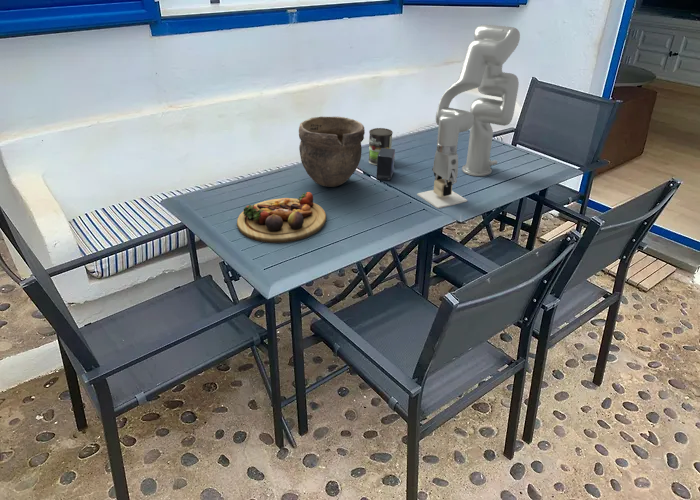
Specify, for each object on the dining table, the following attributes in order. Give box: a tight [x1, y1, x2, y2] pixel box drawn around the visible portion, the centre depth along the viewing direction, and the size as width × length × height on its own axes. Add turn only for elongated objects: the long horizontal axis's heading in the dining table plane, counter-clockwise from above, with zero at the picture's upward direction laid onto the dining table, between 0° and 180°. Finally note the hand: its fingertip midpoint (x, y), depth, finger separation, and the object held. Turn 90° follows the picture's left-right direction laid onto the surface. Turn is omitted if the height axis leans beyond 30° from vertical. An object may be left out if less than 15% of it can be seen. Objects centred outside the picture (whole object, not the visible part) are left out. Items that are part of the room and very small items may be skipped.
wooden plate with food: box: [236, 191, 327, 244], centre depth 195 cm, size 32×32×8 cm
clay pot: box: [298, 116, 366, 188], centre depth 220 cm, size 26×26×25 cm
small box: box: [375, 148, 396, 181], centre depth 231 cm, size 11×6×10 cm, turn 168°
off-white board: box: [416, 189, 468, 209], centre depth 214 cm, size 14×14×1 cm
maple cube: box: [433, 178, 453, 197], centre depth 212 cm, size 5×5×5 cm
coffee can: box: [368, 127, 394, 166], centre depth 244 cm, size 10×10×14 cm
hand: (442, 192), depth 213 cm, fingers closed on maple cube, 4 cm apart
